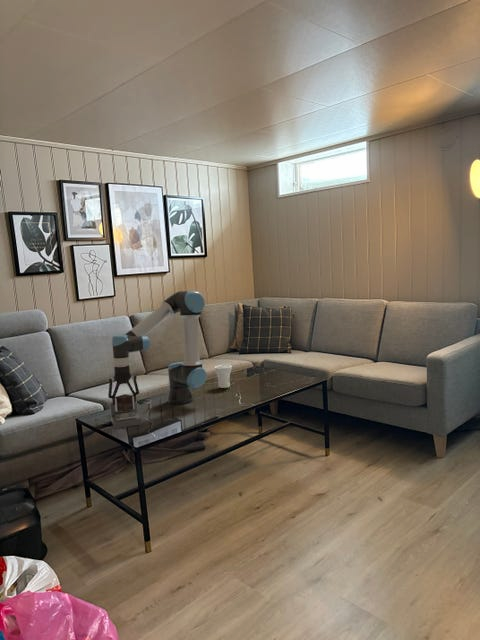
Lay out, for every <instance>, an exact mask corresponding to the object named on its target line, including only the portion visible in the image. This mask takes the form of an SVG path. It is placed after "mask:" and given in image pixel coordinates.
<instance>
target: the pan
mask: <svg viewBox="0 0 480 640" xmlns="http://www.w3.org/2000/svg"><path fill="white" fill-rule="evenodd" d="M115 418H116V420H117V421H119V420H125V419H131V418H137V415H136V414H135V412H128V413H121V414H115Z"/></svg>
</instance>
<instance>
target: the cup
mask: <svg viewBox="0 0 480 640" xmlns="http://www.w3.org/2000/svg"><path fill="white" fill-rule="evenodd" d="M232 368H233V366H232V365H231V364H220V365H216V366H214V372H215V374H216V376H217V382H218V384H217V386H218V389H219V388H224V389H226V388H228V389H229V387H230V388H231V384H230V378H231V377H230V376H231V372H232Z"/></svg>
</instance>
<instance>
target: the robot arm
mask: <svg viewBox="0 0 480 640" xmlns="http://www.w3.org/2000/svg"><path fill="white" fill-rule="evenodd" d="M205 303H206V302H205V298H204V296H203V294H201V293H200V292H199V291H195V290H186V291H184V290H183V291H182V290H181V291H177V292H175V293H173V294H171V295H170V296H169V297H167V298H166V299H165V300H163V301H162V302H161V305H160V306H159V307H158V308H156V309H155V310H153V311H152V312H151V313H150V314H149V315H148V316H146V317H145V318H143V320H141V321H140V322H139V323H137V324H136V325H135V326H134V327H132V328H131V329H130V330H128V331H127V332H126V333H124V334H116V335H113V336H112V339H111V342H112V343H111V347H112V354H113V355H112V356H113V357H112V358H113V366H114V367H113V369H114V376H113V377H109V378H108V383H109V385H108V395H107V397H108V398H109V399H111V402H112V403H113V405H115V411H116V412H117V399H116V397H117V393H118V391H119V387H120V385H123V384H124V385H127V386H128V388H129V390H130V391H131V394H132V401H133V409H135V406H134V402H136V403H137V395H140V390H139V386H138V383H137V375H136V374H134V375H133V374H131V371H130V370H131V369H130V365H129V364H130V355H129V353H134V352H144V351H147V350H149V349H150V347H151V341H150V338H149V336H147V335H148V334H149V333H151V332H152V331H153V330H154V329H155V328H156V327H158V326H159V325H160V324H162V323H163V322H164V321H165V320H166V319H168V318H169V317H172V316H174V315H176V314H178V313H179V315H180V317H181V318H182V324H183V325H182V328H183V356H184V357H183V358H184V359H183V361H177V362H172V363H170V364H169V365H168V366H167V367H168V368H167V372H168V382H169V383H168V385H169V390H168V395H167V404H170V405H185V404H189V403H192V402H193V401H194V395H193V393H192V390H191V388H193V389H194V388H195V389H198V388H200V387H202V386H203V385H204V384H205V382H206V381H207V376H208V375H207V372H206V369H204V368H203V362H202V361H201V360H200V359H201V358H200V328H199V318H200V317H201V316H202V311H203V310H204V308H205V305H206V304H205ZM130 379H132V381H133V385H134V388H135V391H134V388H133V386H132V385H131V383H130ZM114 381H116V383H115V387H114V390H113V383H114Z"/></svg>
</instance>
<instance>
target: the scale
mask: <svg viewBox="0 0 480 640" xmlns="http://www.w3.org/2000/svg"><path fill="white" fill-rule="evenodd" d="M134 406H135V409H132V410H129V411H126V412H122V411H117V412H116V411H115V405H113V403H112V401H110V402H109V409H110V410H109V411H110V420H111V423H112V426H113V428H114V429H120V428H127V427H133V426H139V425H142V421H141V417H140V415H139V414H138V412H137V401H136V402H134ZM128 412H135V414H136V415H137V418H131V419H125V420H119V421H117V420H116V418H115V414H121V413H128Z"/></svg>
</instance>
